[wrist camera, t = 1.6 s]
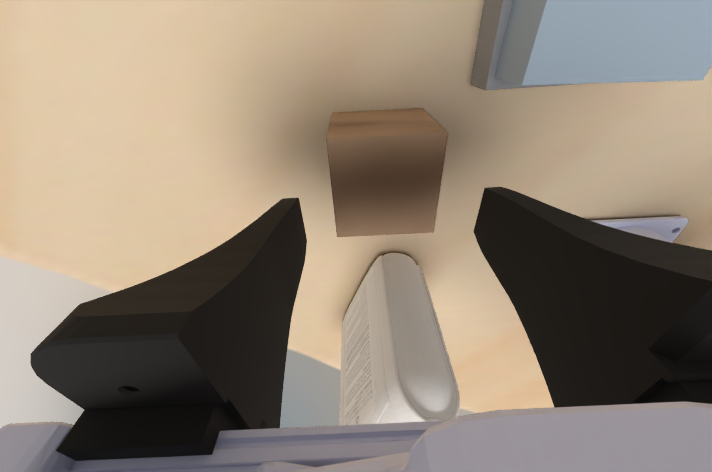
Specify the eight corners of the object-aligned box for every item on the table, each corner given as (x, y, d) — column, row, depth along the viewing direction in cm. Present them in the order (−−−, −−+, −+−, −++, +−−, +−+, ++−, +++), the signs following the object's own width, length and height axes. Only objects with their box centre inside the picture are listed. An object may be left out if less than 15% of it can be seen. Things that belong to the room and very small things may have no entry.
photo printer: (377, 332, 27) (394, 503, 17) (336, 323, 26) (328, 499, 16) (427, 258, 22) (494, 448, 12) (377, 244, 21) (403, 437, 11)
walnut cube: (414, 189, 18) (433, 232, 14) (339, 193, 18) (337, 237, 14) (421, 107, 15) (447, 132, 11) (332, 112, 15) (326, 139, 11)
